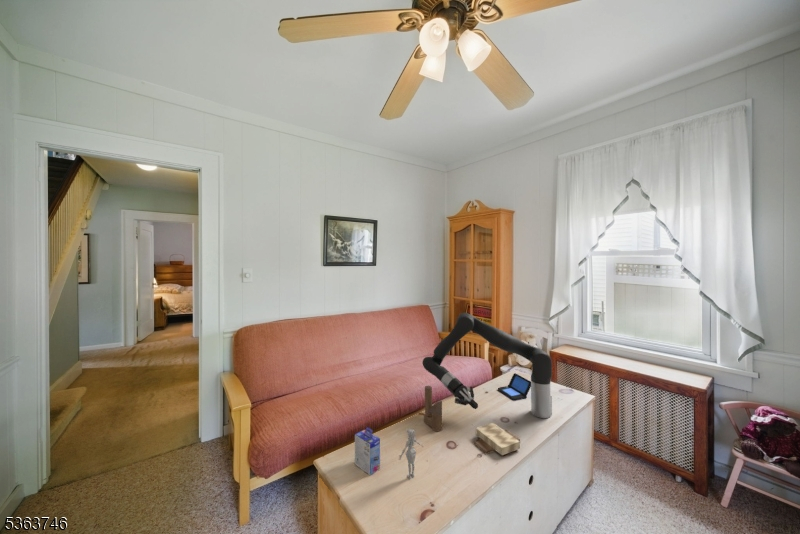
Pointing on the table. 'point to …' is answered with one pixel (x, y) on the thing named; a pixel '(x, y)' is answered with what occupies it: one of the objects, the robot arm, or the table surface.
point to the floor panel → (486, 447)
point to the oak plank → (498, 438)
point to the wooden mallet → (432, 411)
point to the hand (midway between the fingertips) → (476, 407)
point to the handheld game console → (516, 388)
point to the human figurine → (410, 451)
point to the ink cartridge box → (367, 451)
